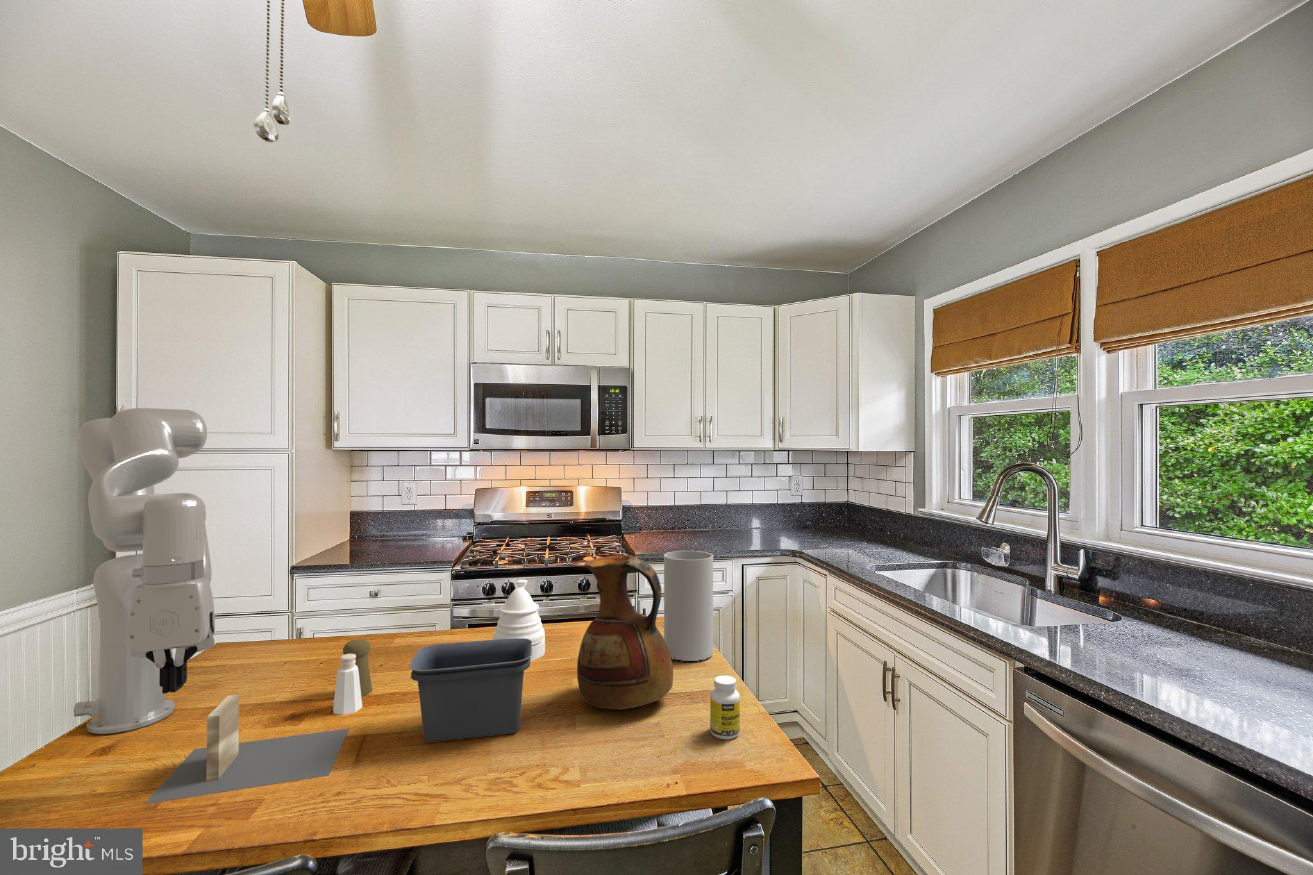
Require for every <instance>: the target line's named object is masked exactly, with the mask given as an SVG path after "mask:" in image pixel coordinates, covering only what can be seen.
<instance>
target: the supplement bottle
mask: <svg viewBox="0 0 1313 875" xmlns="http://www.w3.org/2000/svg"><path fill="white" fill-rule="evenodd" d="M713 684H714V688H713V689H712V691H710V698H709V700H710V704H709V705H710V710H709V712H710V715H709V717H710V719H709V720H710V721H709V723H710V724H709V731H710V733H711V735H712V736H714V737H715V738H718V739H719V740H720V739H721V740H732V739H734V738H737V737H738V736H739V735H740V729H741V724H740V722H741V720H740V719H741V718H740V717H741V713H740V712H741V695H740V693H739V691H738V690H737V678H735V677H734V676H731V675H718V676H716V677H714V682H713Z"/></svg>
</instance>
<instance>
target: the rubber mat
mask: <svg viewBox="0 0 1313 875" xmlns="http://www.w3.org/2000/svg"><path fill="white" fill-rule="evenodd" d="M349 731H350V727H348V728H340V729H333V730H325V731H317V732H310V733H303V734H302V733H301V734H297V735H289V736H281V737H273V738H266V739H260V740H259V739H258V740H252V741H245V742H239V754H238V755H237V756H236V757H235V759H234V760H233V761H232V763H231V764H230V765H229V767H228V768H227V769H226V770H225V772H224V773H223V774H222V776H221V777H220V778H219V779H218V780H212V781H206V778H207V746H206V747H200V748H194V749H193V750H192V751H191V752H190V753H189V754H188V756H187V757H186V758H185V759H184V760H183V761H182V762H181V763H180V764H179V765H178V766H177V768H175V770H173V772H172V773H171V774H170V775H169V776H168V777H167V778H166V779H165V781H163V783H162V784H161V785H160V786H159V787H158V788H157V789H156V790H155V791H154V792H153V793H152V794H151V796H150V797H149V798H148V799H147V800H146V801H145V802H144V803H143V805H148V804H150V805H151V804H155V803H160V802H168V801H175V800H182V799H187V798H193V797H199V796H207V795H212V794H213V795H214V794H221V793H227V792H231V791H232V792H233V791H239V790H246V789H251V788H258V787H264V786H272V785H278V784H283V783H285V784H286V783H289V782H296V781H304V780H310V779H315V778H316V779H317V778H321V777H327V776H330V774H331V771H332V770H333V768H334V767H333V766H335V765H334V764H335V763H336V760H337V758H338V755H339V753H340V750H341V749H342V746H343V744H344V742H345V740H346V737H347V735H348V733H349Z"/></svg>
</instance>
